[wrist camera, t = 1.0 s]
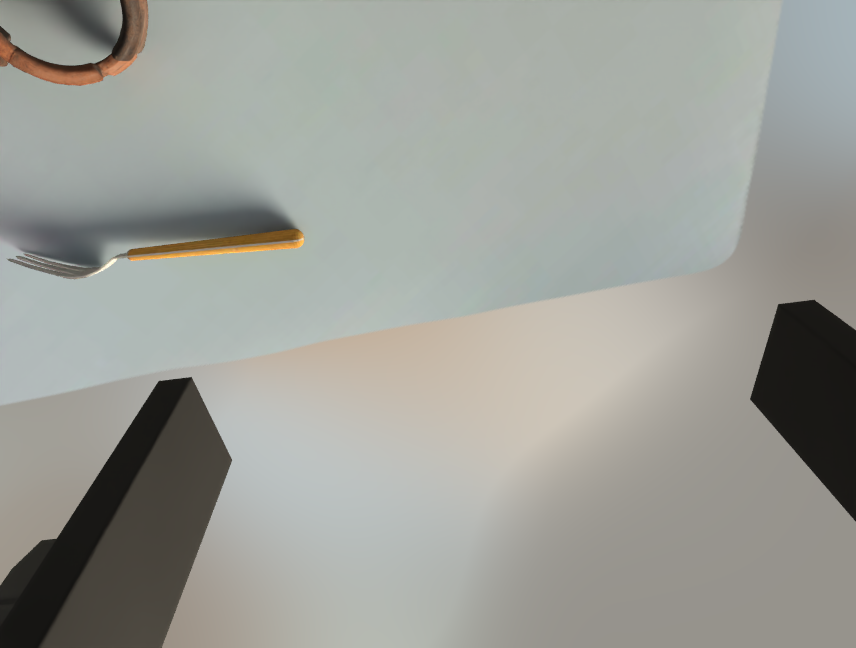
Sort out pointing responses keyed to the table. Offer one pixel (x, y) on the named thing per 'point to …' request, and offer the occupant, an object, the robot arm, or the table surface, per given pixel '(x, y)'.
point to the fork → (179, 251)
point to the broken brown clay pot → (89, 73)
